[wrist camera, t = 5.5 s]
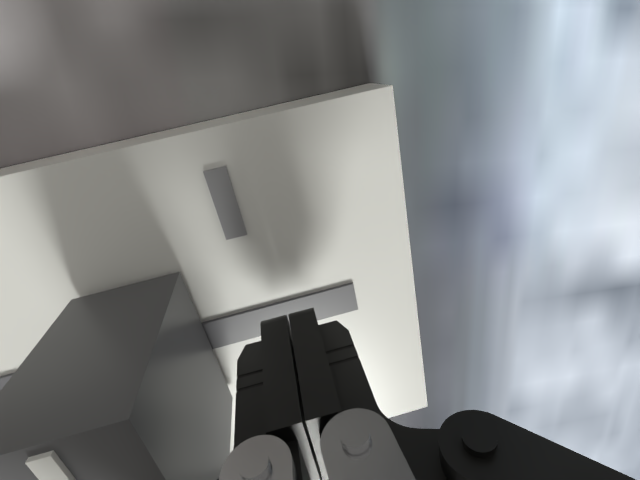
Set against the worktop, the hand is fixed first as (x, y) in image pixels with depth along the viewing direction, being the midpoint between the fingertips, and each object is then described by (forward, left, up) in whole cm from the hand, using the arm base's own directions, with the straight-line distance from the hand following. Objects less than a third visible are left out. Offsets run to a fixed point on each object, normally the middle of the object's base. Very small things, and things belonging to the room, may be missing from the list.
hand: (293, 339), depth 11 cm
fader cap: (+4, 0, -1) cm, 4 cm away
